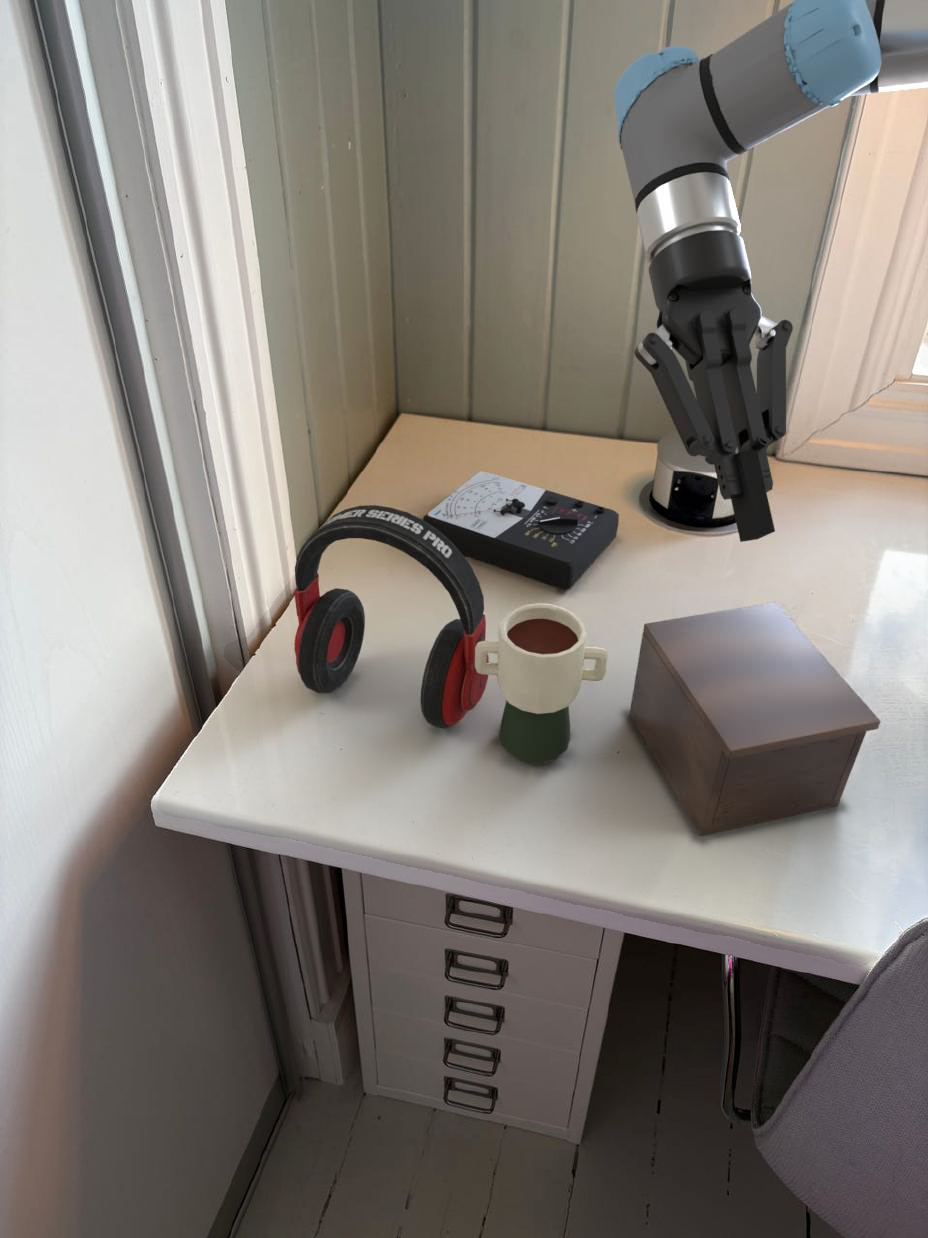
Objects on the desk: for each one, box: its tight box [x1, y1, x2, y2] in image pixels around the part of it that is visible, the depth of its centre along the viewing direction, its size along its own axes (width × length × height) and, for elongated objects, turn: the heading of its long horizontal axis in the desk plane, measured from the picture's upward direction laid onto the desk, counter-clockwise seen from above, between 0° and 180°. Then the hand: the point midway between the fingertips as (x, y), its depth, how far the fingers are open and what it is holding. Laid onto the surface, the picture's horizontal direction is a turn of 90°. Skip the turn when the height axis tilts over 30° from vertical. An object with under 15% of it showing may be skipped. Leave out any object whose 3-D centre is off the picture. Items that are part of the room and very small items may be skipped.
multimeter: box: [422, 470, 620, 590], centre depth 107 cm, size 13×19×5 cm
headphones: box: [293, 504, 490, 730], centre depth 81 cm, size 18×10×20 cm, turn 68°
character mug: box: [475, 602, 609, 765], centre depth 79 cm, size 11×7×13 cm, turn 86°
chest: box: [629, 632, 868, 836], centre depth 79 cm, size 15×13×10 cm
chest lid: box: [642, 601, 881, 759], centre depth 75 cm, size 16×13×1 cm
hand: (757, 536), depth 72 cm, fingers closed
